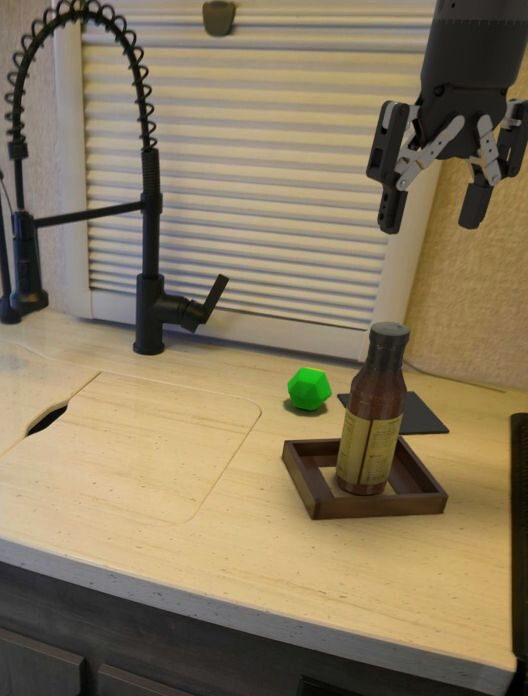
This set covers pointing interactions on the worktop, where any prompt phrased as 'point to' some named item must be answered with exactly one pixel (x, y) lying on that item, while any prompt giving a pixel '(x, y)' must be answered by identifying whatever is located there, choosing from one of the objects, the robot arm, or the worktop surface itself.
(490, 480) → the worktop surface
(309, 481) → the picture frame
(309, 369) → the green faceted block
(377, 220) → the robot arm
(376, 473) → the sauce bottle
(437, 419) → the rubber mat
